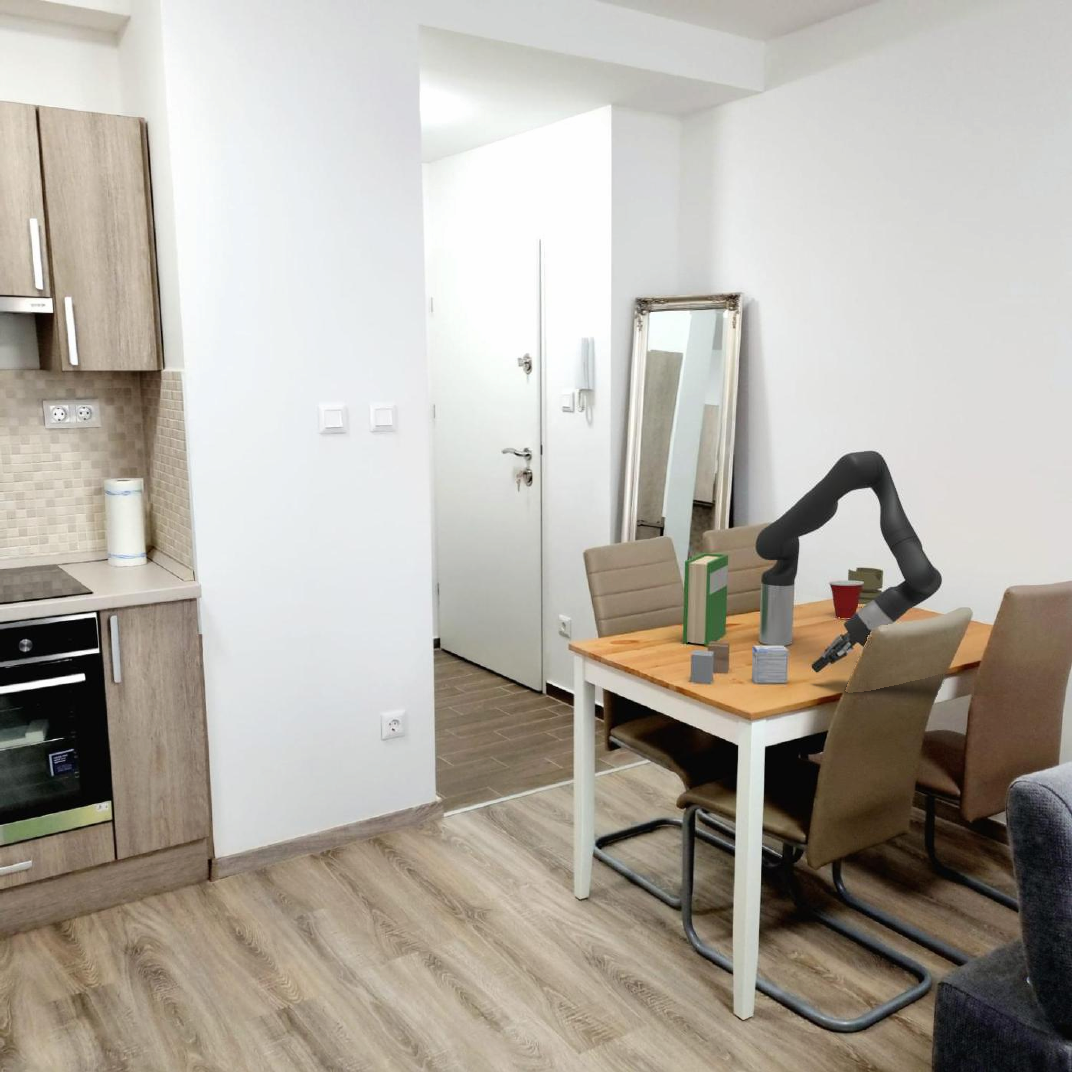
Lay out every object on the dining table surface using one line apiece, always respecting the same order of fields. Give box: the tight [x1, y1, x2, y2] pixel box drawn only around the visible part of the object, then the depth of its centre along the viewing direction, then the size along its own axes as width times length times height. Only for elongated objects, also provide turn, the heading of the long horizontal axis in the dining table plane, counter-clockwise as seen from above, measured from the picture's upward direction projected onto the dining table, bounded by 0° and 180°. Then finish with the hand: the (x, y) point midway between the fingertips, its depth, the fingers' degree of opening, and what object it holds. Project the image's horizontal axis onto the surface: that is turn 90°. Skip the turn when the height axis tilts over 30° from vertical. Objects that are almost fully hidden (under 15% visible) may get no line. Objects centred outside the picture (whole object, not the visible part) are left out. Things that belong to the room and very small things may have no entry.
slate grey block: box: [689, 649, 714, 685], centre depth 254 cm, size 5×5×7 cm
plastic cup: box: [828, 580, 864, 618], centre depth 329 cm, size 11×11×12 cm
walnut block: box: [707, 641, 731, 675], centre depth 263 cm, size 5×5×7 cm
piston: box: [847, 567, 884, 605], centre depth 351 cm, size 11×12×11 cm
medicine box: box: [751, 645, 789, 685], centre depth 253 cm, size 8×4×9 cm, turn 92°
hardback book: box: [682, 552, 729, 648], centre depth 297 cm, size 18×7×24 cm, turn 154°
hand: (813, 669), depth 251 cm, fingers closed
